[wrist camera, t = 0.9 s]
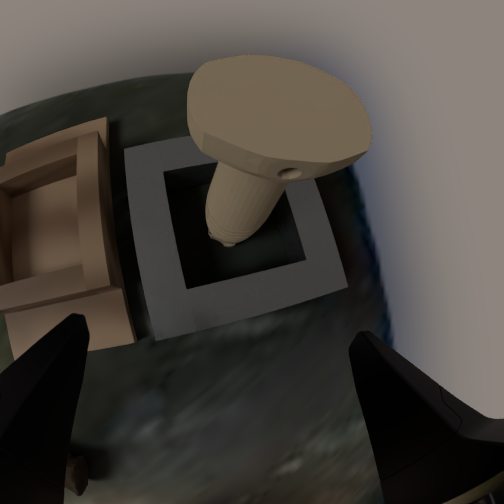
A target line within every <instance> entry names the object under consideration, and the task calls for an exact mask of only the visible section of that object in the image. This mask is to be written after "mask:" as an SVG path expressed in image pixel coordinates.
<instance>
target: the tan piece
mask: <svg viewBox="0 0 504 504" xmlns="http://www.w3.org/2000/svg"><path fill="white" fill-rule="evenodd" d="M71 313H78V314H83V315H84V316H85V318H86V322H87V325H88V329H89V333H90V341H89V346H88V351H92V350H98V349H104V348H109V347H115V346H120V345H125V344H130V343H135V342H137V341H138V340H137V337H136V333H135V329H134V325H133V321H132V317H131V313H130V309H129V304H128V300H127V295H126V290H125V285H124V280H123V275H122V269H121V264H120V258H119V252H118V245H117V238H116V231H115V223H114V214H113V204H112V193H111V179H110V160H109V123H108V120H107V117H104V118H101V119H97V120H94V121H90V122H87V123H84V124H80V125H77V126H74V127H71V128H68V129H65V130H62V131H59V132H57V133H54V134H51V135H49V136H46V137H43V138H41V139H38V140H36V141H33V142H31V143H29V144H26V145H24V146H22V147H19V148H17V149H15V150H13V151H11V152H9V153H7V156H6V161H5V165H4V166H2V167H0V314H4V315H5V318H6V323H7V329H8V334H9V339H10V343H11V348H12V352H13V356H14V360H16V359H17V358H18V357H20V356H21V355H22V354H23V353H24V352H25V351H26V350H28V349H29V348H30V347H31V346H32V345H33V344H35V343H36V342H37V341H38V340H39V339H40V338H42V337H43V336H44V335H45V334H46V333H48V332H49V331H50V330H51V329H52V328H54V327H55V326H56V325H57V324H59V323H60V322H61V321H62V320H64V319H65V318H66V317H67V316H69V315H70V314H71Z"/></svg>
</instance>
